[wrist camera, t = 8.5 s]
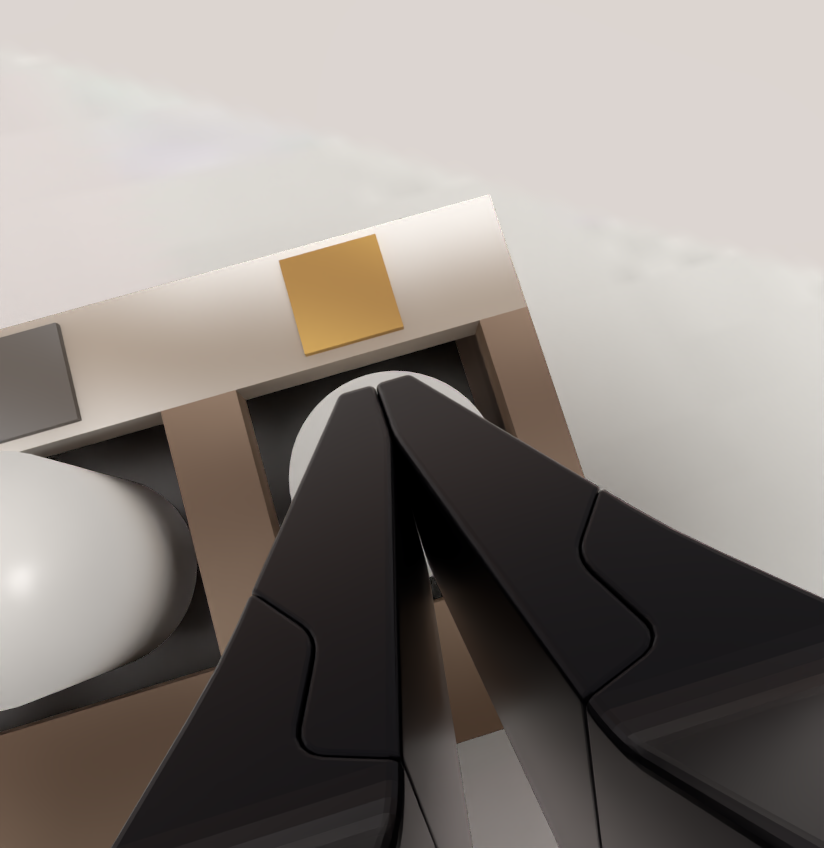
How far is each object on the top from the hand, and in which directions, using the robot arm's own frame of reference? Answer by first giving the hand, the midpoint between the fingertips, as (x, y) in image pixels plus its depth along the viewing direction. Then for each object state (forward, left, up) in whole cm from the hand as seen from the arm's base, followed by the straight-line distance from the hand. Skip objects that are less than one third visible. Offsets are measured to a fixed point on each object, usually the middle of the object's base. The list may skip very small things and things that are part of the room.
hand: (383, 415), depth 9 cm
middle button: (+2, +6, -8) cm, 10 cm away
